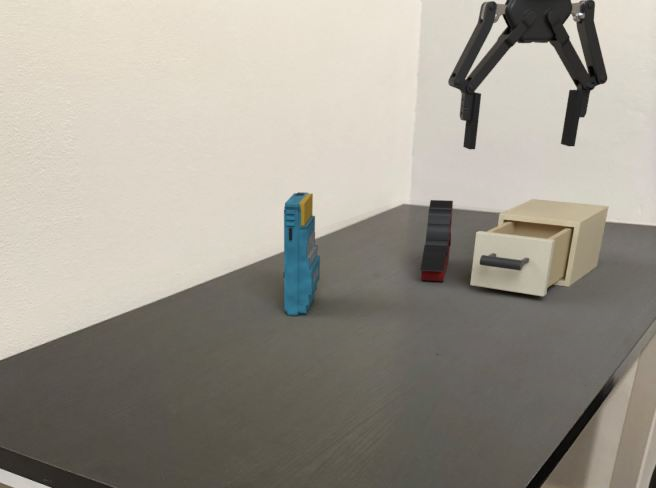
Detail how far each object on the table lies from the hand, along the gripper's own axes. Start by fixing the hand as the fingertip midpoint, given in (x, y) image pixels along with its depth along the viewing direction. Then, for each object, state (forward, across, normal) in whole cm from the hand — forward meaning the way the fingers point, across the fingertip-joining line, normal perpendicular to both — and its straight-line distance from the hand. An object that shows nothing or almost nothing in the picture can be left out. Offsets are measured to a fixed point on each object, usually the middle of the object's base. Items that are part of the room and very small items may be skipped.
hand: (518, 147), depth 106 cm
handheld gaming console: (+21, -29, +2) cm, 36 cm away
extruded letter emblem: (+21, -4, +17) cm, 28 cm away
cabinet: (+21, +13, +15) cm, 29 cm away
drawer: (+20, +5, +5) cm, 21 cm away
